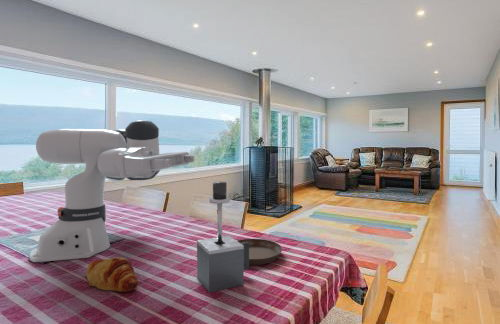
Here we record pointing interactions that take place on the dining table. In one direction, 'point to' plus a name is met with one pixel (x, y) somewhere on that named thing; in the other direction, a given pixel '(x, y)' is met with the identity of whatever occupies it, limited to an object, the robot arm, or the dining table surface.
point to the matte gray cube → (221, 263)
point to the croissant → (112, 274)
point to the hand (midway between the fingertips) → (182, 160)
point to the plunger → (219, 204)
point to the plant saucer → (262, 251)
